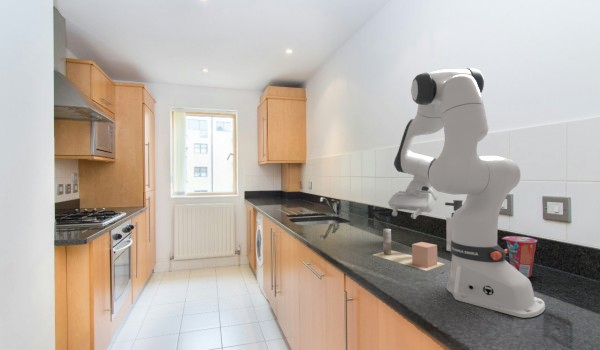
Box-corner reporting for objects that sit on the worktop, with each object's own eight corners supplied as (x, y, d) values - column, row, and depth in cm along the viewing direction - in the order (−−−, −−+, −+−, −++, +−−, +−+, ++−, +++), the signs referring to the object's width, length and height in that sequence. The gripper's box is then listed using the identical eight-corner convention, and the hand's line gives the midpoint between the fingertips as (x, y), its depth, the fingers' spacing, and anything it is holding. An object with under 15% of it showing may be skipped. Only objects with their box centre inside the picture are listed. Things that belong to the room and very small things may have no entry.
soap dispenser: (451, 247, 133) (450, 199, 132) (470, 251, 125) (469, 200, 125) (441, 249, 129) (441, 199, 129) (460, 253, 122) (460, 201, 122)
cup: (517, 269, 102) (517, 235, 102) (544, 277, 94) (543, 240, 94) (497, 272, 99) (497, 237, 99) (523, 280, 91) (523, 242, 91)
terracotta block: (437, 264, 104) (437, 245, 104) (427, 267, 100) (427, 247, 100) (422, 260, 109) (421, 241, 109) (412, 263, 105) (412, 244, 105)
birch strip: (446, 267, 104) (445, 236, 104) (426, 274, 97) (426, 241, 97) (390, 252, 124) (390, 226, 124) (371, 257, 117) (371, 229, 117)
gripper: (393, 186, 137) (380, 209, 131) (435, 188, 120) (421, 214, 115) (399, 195, 139) (386, 218, 134) (441, 198, 123) (428, 224, 117)
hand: (403, 216), depth 124 cm, fingers open, 8 cm apart
